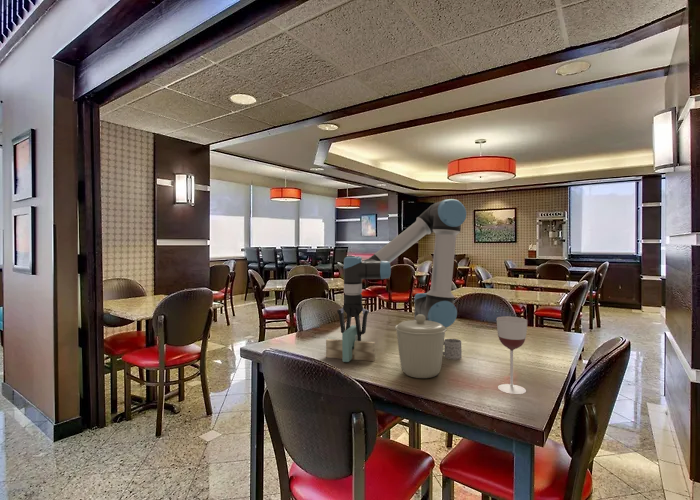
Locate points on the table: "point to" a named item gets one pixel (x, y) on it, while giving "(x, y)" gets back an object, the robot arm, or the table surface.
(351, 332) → the teal slotted plate
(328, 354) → the birch notched board
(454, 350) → the mug
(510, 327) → the wineglass
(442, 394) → the table surface
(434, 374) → the canister
